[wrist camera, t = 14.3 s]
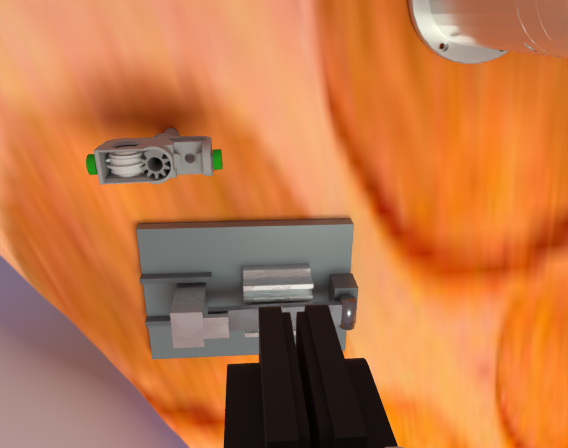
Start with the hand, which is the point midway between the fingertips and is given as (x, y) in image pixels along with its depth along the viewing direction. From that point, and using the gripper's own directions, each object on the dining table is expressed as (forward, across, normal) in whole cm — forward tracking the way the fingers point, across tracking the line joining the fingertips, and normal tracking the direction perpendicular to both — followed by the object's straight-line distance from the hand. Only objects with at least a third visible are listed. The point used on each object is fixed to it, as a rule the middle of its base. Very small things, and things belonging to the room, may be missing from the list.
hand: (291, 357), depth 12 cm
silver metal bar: (+32, -2, +20) cm, 38 cm away
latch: (+35, +6, +20) cm, 41 cm away
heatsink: (+36, -2, +20) cm, 41 cm away
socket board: (+37, +1, +20) cm, 42 cm away
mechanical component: (+37, +8, +3) cm, 38 cm away
